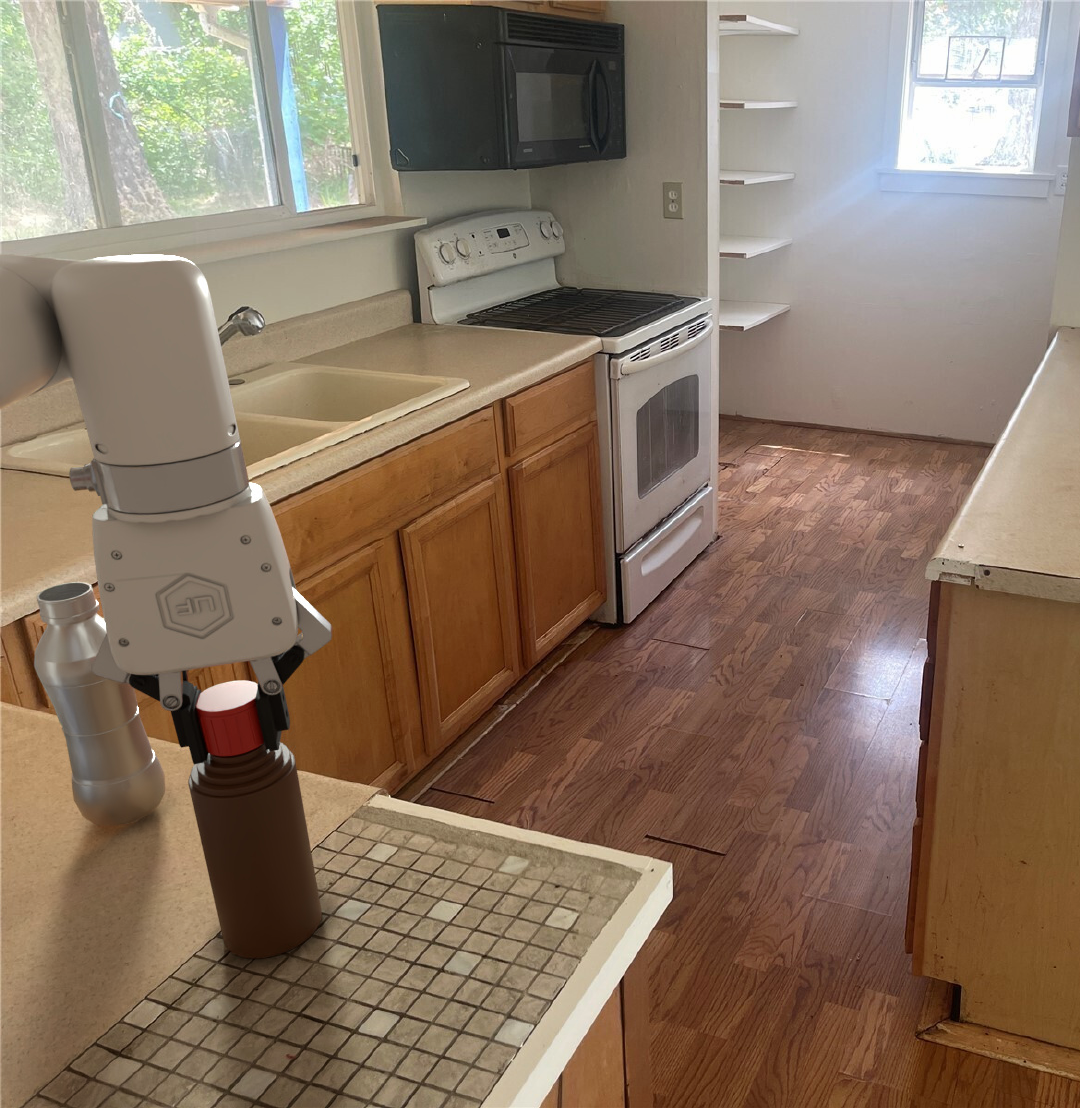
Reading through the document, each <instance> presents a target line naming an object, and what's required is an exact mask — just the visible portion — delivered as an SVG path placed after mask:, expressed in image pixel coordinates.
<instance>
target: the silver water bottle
mask: <svg viewBox="0 0 1080 1108" xmlns="http://www.w3.org/2000/svg"><path fill="white" fill-rule="evenodd" d="M36 602H37V606H38V608H39V617H40V620H41V621H42V623H44V624H46V627H45V629H44V631H43V633H42V635H41V637H40V639H39V641H38V643H37V646H36V648H35V651H34V659H33V660H34V661H33V667H34V669H35V672H36V675H37V678H38V679H39V681H40V683H41V684H42V687H43V688H44V691H45V693H46V695H47V697H48V698H49V700H50V703H51V705H52V706H53V708H54V711H55V714H56V717H57V719H58V722H59V725H60V726H61V730H62V733H63V735H64V738H65V742H66V748H67V754H68V759H69V763H70V769H71V790H72V798H73V801H74V803H75V805H76V807H77V808H78V810H79V812H80V814H81V816H82V818H84V819H86V820H87V821H89V822H90V823H92V824H94V825H96V826H100V827H118V826H123V825H128V824H131V823H134V822H136V821H139V820H141V819H143V818H145V817H147V816H148V815H150V814H152V813H153V812H154V811H155V810H156V809H157V808H158V807H159V805H160V804H161V802H162V800H163V798H164V796H165V793H166V775H165V771H164V768H163V766H162V764H161V761H160V759H159V758H158V756H157V754H156V753H155V751H154V750H153V748H152V745H151V742H150V740H149V737H148V734H147V732H146V729H145V726H144V723H143V721H142V719H141V714H140V710H139V707H138V700H137V694H136V689H135V688H133V687H132V686H131V685H130V684H128V683H120V682H117V681H113V680H110V679H106V678H103V677H100V676H97V675H95V674H94V673H93V672H92V670H91V667H92V664H93V662H94V660H95V658H96V655H97V653H98V651H99V649H100V646H101V644H102V642H103V640H104V637H105V635H106V633H107V632H106V626H105V621H104V617H103V616H101V615H99V614H98V612H99V611H100V603H99V601H98V600H97V598H96V596H95V591H94V588H93V586H92V584H90V583H88V582H84V581H71V582H64V583H59V584H56V585H52V586H49V587H47V588H45V589H43V590H41V591H40V592H39V593H38V594H37V595H36Z"/></svg>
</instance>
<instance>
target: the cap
mask: <svg viewBox="0 0 1080 1108" xmlns="http://www.w3.org/2000/svg"><path fill="white" fill-rule="evenodd" d="M257 685H258V682H257V683H256V682H255V681H251V680H231V681H226V682H221V683H218V684H215V685H213V686H211V687H208V688H206V689H205V690H203V691H201V693H200V694H199V696H198V699H197V702H196V705H195V708H196V712H197V716H198V720H199V724H200V728H201V732H202V736H203V740H204V744H205V748H206V751H207V752H208V753H210V754H212V755H216V756H234V755H239V754H243V753H246V752H248V751H251V750H253V749H255V748H257V747H259V746H260V745H262V744H263V743H264V738H263V734H262V730H261V725H260V721H259V716H258V712H257V707H256V702H255V698H256V694H257V689H258V686H257Z"/></svg>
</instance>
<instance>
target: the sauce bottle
mask: <svg viewBox="0 0 1080 1108" xmlns="http://www.w3.org/2000/svg"><path fill="white" fill-rule="evenodd" d="M187 782H188V783H187V784H188V789H189V793H190V798H191V802H192V806H193V811H194V815H195V820H196V824H197V829H198V833H199V837H200V842H201V846H202V847H201V848H202V851H203V855H204V860H205V864H206V869H207V873H208V877H209V883H210V887H211V892H212V896H213V901H214V904H215V909H216V915H217V918H218V923H219V927H220V931H221V936H222V940H223V944H224V946H225V948H226V950H228V951H230V953H231V954H233V955H235V956H237V957H241V958H244V959H267V958H271V957H275V956H278V955H281V954H284V953H287V952H289V951H292V950H293V949H295V948H297V947H298V946H299V945H302V944H303V943H304V942H305V941H307V940H308V939H309V938H310V937H311V936H312V935H313V934H314V933H315V932H316V931H317V929H318V927H319V925H320V924H321V920H322V915H323V913H322V912H323V911H322V906H321V900H320V899H321V898H320V894H319V890H318V881H317V877H316V871H315V865H314V859H313V854H312V848H311V843H310V837H309V836H310V835H309V832H308V826H307V819H306V815H305V808H304V801H303V797H302V791H301V785H300V779H299V775H298V768H297V763H296V757H295V754H293V752H292V751H291V750H290V748H289V747H288V746H287V745H286V744H285V743H283V742H281V741H280V745H279V750H274V751H269V749H268V750H266V747H265V743H263V744H262V745H260V746H259V747H257V748H255V749H253V750H251V751H248V752H246V753H243V754H239V755H234V756H216V755H212V754H210V753H208V756H207V760H204V762H203V763H199V764H193V766H192V767H191V770H190V775H189V777H188V781H187Z"/></svg>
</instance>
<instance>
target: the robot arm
mask: <svg viewBox="0 0 1080 1108" xmlns="http://www.w3.org/2000/svg"><path fill="white" fill-rule="evenodd" d="M221 343H222V342H221V339H220V334H219V330H218V324H217V319H216V315H215V309H214V305H213V301H212V295H211V292H210V288H209V284H208V281H207V279H206V277H205V274H204V273H203V272H202V270H201V269H200V268H199V266H197V264H195V263H194V262H192V261H191V260H188V259H187V258H184V257H180V256H176V255H164V254H131V255H130V254H129V255H128V254H127V255H113V256H103V257H96V258H95V257H94V258H90V259H85V260H79V259H64V258H55V257H45V256H37V255H28V254H27V255H26V254H15V253H0V411H2V410H4V409H6V408H8V407H10V406H12V405H15V404H17V403H18V402H20V401H22V400H23V399H25V398H29V397H30V396H33V395H36V394H38V393H39V394H40V393H41V392H44V391H46V390H49V389H51V388H54V387H56V386H58V385H61V384H64V383H67V382H72V381H73V384H74V389H75V393H76V397H77V400H78V403H79V407H80V410H81V414H82V417H83V421H84V425H85V428H86V432H87V436H88V441H89V445H90V447H91V451H92V454H93V458H92V459H91V461H90V463H85V464H84V465H83V466H77V467H70V469H69V473H68V474H69V483H70V485H71V488H72V489H73V491H74V492H78V491H87V490H88V491H89V492H91V493H92V492H95V493H96V494H97V496H98V497H100V501H101V504H102V505H101V506H99V507H98V509H96V510H95V511H94V512H93V513H92V517H91V518H92V520H91V521H92V523H91V528H92V530H91V531H92V532H91V533H92V546H93V557H94V565H95V574H96V580H97V581H96V582H97V586H98V594H99V598H100V604H101V610H102V617H103V618H104V621H105V626H106V632H107V633H106V635H105V637H104V640H103V642H102V644H101V646H100V649H99V651H98V653H97V655H96V658H95V660H94V662H93V664H92V667H91V670H92V672H93V673H94V674H95V675H97V676H100V677H103V678H106V679H110V680H113V681H117V682H120V683H128V684H130V685H131V686H132V687H133V688H134V689H135V690H136V691H139V692H140V693H142V694H144V695H146V696H148V697H150V698H151V699H154V700H155V701H158V702H159V703H160V706H161V708H162V709H163V710H165V711H170V715H171V718H172V722H173V726H174V729H175V733H176V737H177V741H178V744H179V747H180V748H181V749H182V748H187V747H188V749H189V753H190V757H191V760H192V764H193V765H194V764H199V763H203V762H204V760H207V756H208V752H207V751H206V748H205V744H204V740H203V736H202V732H201V728H200V724H199V720H198V716H197V712H196V708H195V705H196V702H197V699H198V696H199V694H200V693H201V692H202V690H201V689H198V686H197V685H194V684H193V683H192V682H190V672H189V671H191V670H198V669H205V668H210V667H217V666H225V665H231V664H238V663H243V662H250V665H251V668H252V670H253V672H254V674H255V677H256V679H257V684H258V685H257V686H258V689H257V694H256V698H255V702H256V707H257V712H258V716H259V721H260V725H261V730H262V734H263V738H264V743H265V747H266V750H268V749H269V751H274V750H279V745H280V742H281V739H282V738H281V737H282V733H283V732H284V731H288V730H290V727H291V719H290V718H291V717H290V712H289V707H288V702H287V698H286V693H285V688H284V685H285V684H286V682H287V681H288V680H289V679H290V678H291V677H292V675H294V673H295V672H296V670H297V669H299V668H300V666H301V665H302V663H303V662H304V660H305V659H307V658H309V656H312V655H314V654H315V653H316V652H318V651H319V650H321V648H323V647H324V646H326V645H327V644H328V643H330V641H332V638H333V631H334V629H333V626H332V624H331V623H330V622H329V621H328V620H327V619H326V618H325V617H324V616H323V615H322V614H321V613H320V612H319V611H318V610H317V609H316V608H315V607H314V606H313V605H312V604H311V603H310V602H309V601H308V600H307V599H306V598H304V596H303V595H302V594H301V593H299V592H298V590H297V586H296V582H295V577H294V575H293V571H292V567H291V564H290V559H289V557H288V553H287V550H286V547H285V544H284V540H283V538H282V534H281V531H280V528H279V525H278V522H277V519H276V517H275V515H274V512H273V510H272V507H271V505H270V502H269V500H268V498H267V496H266V493H265V492H264V489H263V487H262V486H261V485H260V484H258V483H254V482H250V479H249V475H248V470H247V465H246V460H245V455H244V449H243V445H242V441H241V437H240V433H239V427H238V423H237V418H236V413H235V408H234V403H233V398H232V397H233V396H232V392H231V387H230V382H229V377H228V372H227V367H226V363H225V358H224V354H223V349H222V344H221ZM299 630H300V631H301V632H300V633H299Z"/></svg>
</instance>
